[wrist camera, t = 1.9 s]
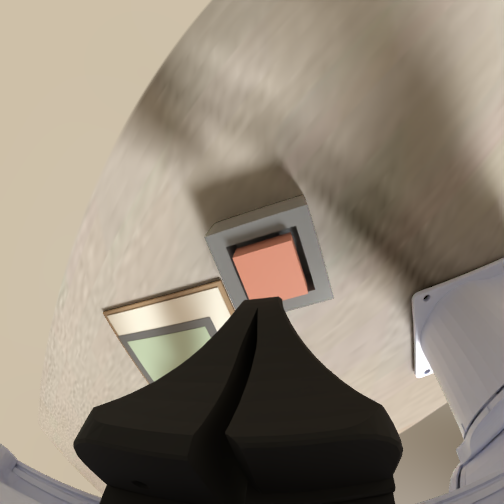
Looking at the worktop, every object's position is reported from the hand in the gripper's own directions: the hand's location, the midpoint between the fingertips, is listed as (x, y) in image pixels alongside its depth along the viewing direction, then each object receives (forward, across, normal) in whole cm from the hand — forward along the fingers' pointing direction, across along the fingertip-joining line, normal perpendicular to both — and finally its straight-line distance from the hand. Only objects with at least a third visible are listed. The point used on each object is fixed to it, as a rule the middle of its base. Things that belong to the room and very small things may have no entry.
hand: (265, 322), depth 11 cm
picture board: (+7, +7, +8) cm, 13 cm away
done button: (+5, 0, 0) cm, 5 cm away
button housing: (+7, 0, 0) cm, 7 cm away
